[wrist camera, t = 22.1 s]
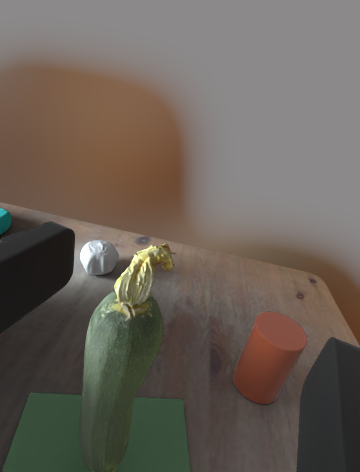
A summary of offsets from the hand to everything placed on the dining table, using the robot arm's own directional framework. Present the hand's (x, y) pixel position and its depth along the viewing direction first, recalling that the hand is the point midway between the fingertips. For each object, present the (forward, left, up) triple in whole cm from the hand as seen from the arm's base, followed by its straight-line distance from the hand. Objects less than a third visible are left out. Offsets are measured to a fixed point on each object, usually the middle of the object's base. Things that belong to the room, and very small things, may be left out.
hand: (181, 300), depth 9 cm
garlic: (+24, -21, -22) cm, 39 cm away
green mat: (+5, -4, -22) cm, 23 cm away
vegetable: (+5, -4, -22) cm, 23 cm away
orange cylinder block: (-2, -20, -22) cm, 30 cm away
